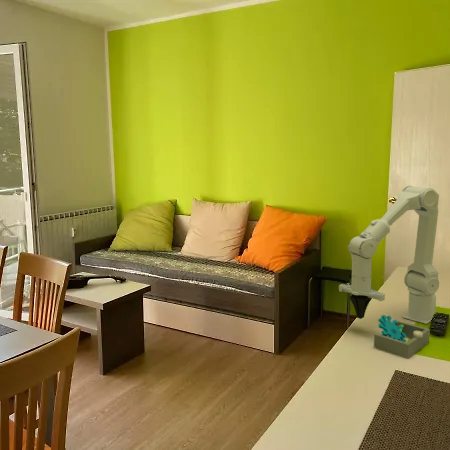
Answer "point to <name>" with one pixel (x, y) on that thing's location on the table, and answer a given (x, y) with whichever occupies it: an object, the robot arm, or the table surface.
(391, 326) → the gear
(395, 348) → the housing
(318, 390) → the table surface
